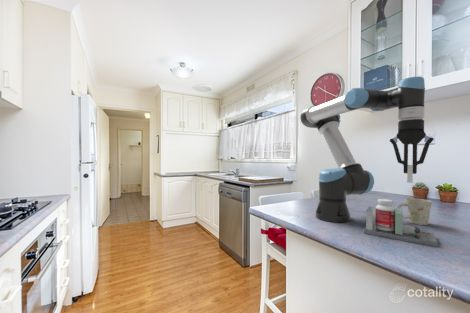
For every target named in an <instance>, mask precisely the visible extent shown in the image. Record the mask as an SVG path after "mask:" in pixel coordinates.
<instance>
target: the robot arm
mask: <svg viewBox="0 0 470 313" xmlns="http://www.w3.org/2000/svg"><path fill="white" fill-rule="evenodd" d="M425 85H426V82H425V78H424V77H422V76H410V77H409V76H408V77H405V78H403V79H401V80H399V82H398V85H397V87H395V88H391V89H388V90H382V89H381V90H380V89H369V88H363V87H353V88H350V89H349V90H348V91H347V92H346V93H345V95H342V96H339V97H336V98H334V99H332V100H329V101H327V102H323V103H320V104H318V105H316V106H315V105H311V106H308V107H307V108H305V109H303V110H302V111H301V113H300V117H299V118H300V122H301V123H302V125H303V126H305V127H306V128H310V129H311V128H312V129H313V128H314V129H317V131H318V133H319V134H320V135H323V137H324V140H325V142H326V144H327V146H328V148H329V151H330V152H331V154H332V156H333V158H334V161H335V164H336V165H337V168H328V169H327V168H326V169H322V170H321V171H320V172H319V174H318V176H319V177H318V192H319V194H318V196H319V199H318V203H317V207H316V209H315V217H316V218H317V219H319V220H322V221H324V222H325V221H326V222H332V223H347V222H349V221H351V213H350V210H349V207H348V205H347V196H352V195H353V196H355V195H365V194H368V193H369V192H371V191H372V190H373V188H374V185H375V178H374V176H373V173H372V172H370V171H369V170H365V169H364V168H363V166H362V164H361V163H360V162H359V163H358V162H356V159H355V158H354V156H353V154H352V152H351V150H350V149H349V147H348V144H347V143H346V141H345V139H344V137H343V134H342V133H341V131H340V129H339V127H340V122H341V115H342V114H345V113H348V112H349V113H350V112H353V111H356V110H359V109H370V110H371V111H372V112H383V111H386V110H390V109H394V108H395V109H396V108H398V110H397V111H398V113H397V114H398V116H397V117H398V118H397V119H398V123H397V127H398V128H397V133H396V136H395V137H393V138H389V142H390V143H391V144H392V146H393V150H394V153H395V157H396V160H397V163H398V164H401V165H402V166H403V173H404V174H406V175H407V178H406V180H407V181H406V182H407V183H409V184H411V183H413V180H414V179H413V174H414V175H416V174H417V173H418V172H417V170H418V165H422V164H424V163H425V162H424V161H425V158H426V156H427V154H428V149H429V147H430V144H431V143H432V142H433V141H434V137H431V136H428V135H427V133H426V132H425V120H424V118H425V94H426V87H425ZM423 139H424V140H423ZM422 140H423V141H424V142H425V143H424V145H423V148H422V151H421V154H420V157H419V159H418V144H419V143H420V142H422ZM398 141H400V143H401V144H403V160H402V157H401V154H400V150H399V147H398V144H397V143H398ZM409 145H412V164H408V163H409V162H408V161H409Z"/></svg>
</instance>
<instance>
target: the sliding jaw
mask: <svg viewBox="0 0 470 313" xmlns="http://www.w3.org/2000/svg"><path fill="white" fill-rule="evenodd" d="M402 216H403V208H402V207H401V208H397V207H395V234H399V235H403V232H402V231H405V232H411V233H420V231H421V228H419V227H418V226H412V225H406V224H405V225H404V224H403V218H402Z"/></svg>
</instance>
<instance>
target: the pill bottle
mask: <svg viewBox="0 0 470 313" xmlns="http://www.w3.org/2000/svg"><path fill="white" fill-rule="evenodd" d="M393 205H394V200H391V199H385V198H378V199H377V205H376V206H375V224H376V228H377V229H379V230H383V231H389V232H392V231H395V209H396V207H394V206H393Z"/></svg>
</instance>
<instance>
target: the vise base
mask: <svg viewBox="0 0 470 313" xmlns="http://www.w3.org/2000/svg"><path fill="white" fill-rule="evenodd" d="M402 232H403V235H399V234H395V231H392V232H389V231H383V230H379V229H377V228H376V206H375V207H374V206H368V207H367V209H366V210H365V228H364V234H365V235H372V236H377V237H381V238H388V239H392V240H398V241H404V242H409V243H414V244H419V245H426V246H428V247H429V246H431V247H436V248H437V247H438V240H437V238H436V236H435V233H434V232H426V231H421V230H420V233H411V232H405V231H402Z"/></svg>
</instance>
